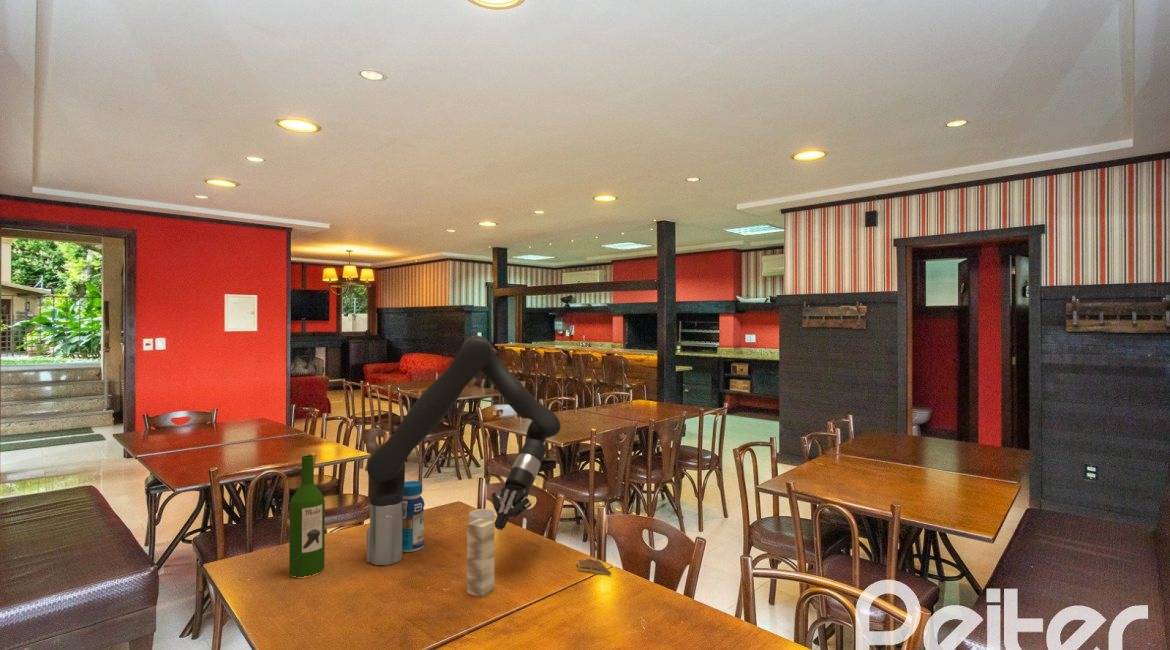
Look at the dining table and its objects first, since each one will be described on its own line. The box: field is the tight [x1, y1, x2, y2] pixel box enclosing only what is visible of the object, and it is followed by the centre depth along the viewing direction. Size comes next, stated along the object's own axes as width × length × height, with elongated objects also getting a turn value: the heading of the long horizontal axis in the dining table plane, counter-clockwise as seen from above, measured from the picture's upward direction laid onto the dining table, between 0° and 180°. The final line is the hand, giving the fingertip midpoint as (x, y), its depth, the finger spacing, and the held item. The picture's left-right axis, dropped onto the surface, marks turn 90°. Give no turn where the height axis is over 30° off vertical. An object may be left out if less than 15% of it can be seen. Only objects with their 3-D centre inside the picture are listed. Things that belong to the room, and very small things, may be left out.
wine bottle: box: [288, 454, 326, 577], centre depth 162 cm, size 9×9×32 cm
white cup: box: [468, 508, 496, 523], centre depth 182 cm, size 8×8×10 cm
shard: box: [575, 558, 613, 577], centre depth 163 cm, size 11×8×2 cm
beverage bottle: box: [403, 480, 426, 553], centre depth 179 cm, size 8×8×20 cm
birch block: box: [466, 518, 495, 598], centre depth 150 cm, size 5×5×18 cm
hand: (498, 528), depth 157 cm, fingers closed
